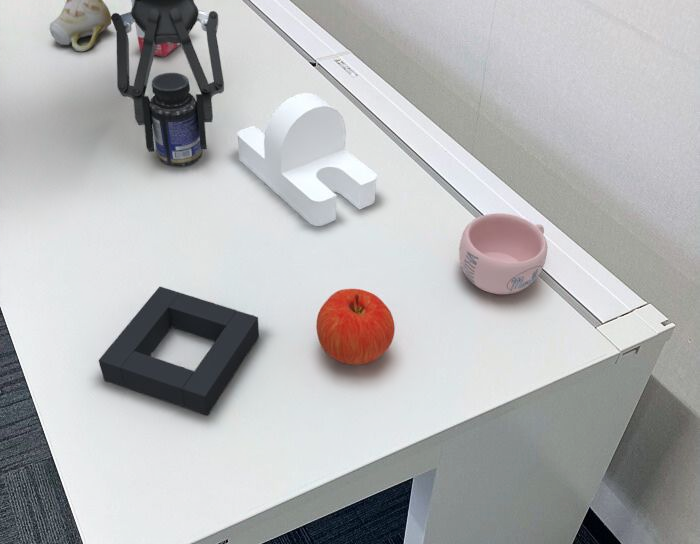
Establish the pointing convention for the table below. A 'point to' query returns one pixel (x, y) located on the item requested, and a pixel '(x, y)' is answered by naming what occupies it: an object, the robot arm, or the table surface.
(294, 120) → the bracket
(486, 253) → the mug
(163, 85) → the pill bottle
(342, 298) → the apple
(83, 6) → the mug
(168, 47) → the ink box
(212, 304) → the socket pad
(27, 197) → the table surface
